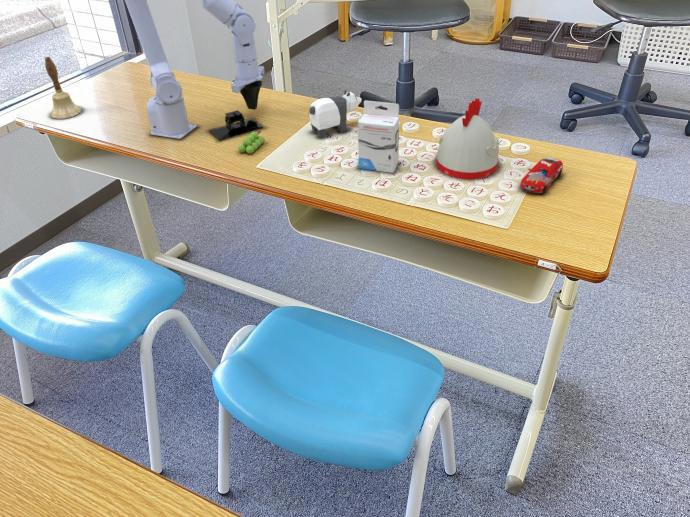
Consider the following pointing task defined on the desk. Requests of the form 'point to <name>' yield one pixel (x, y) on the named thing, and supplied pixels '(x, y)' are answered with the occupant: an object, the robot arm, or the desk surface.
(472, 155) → the white and red dome
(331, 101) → the giant panda
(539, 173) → the race car
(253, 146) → the grapes
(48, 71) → the hand bell
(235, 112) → the build plate
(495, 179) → the desk surface
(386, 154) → the ink box
